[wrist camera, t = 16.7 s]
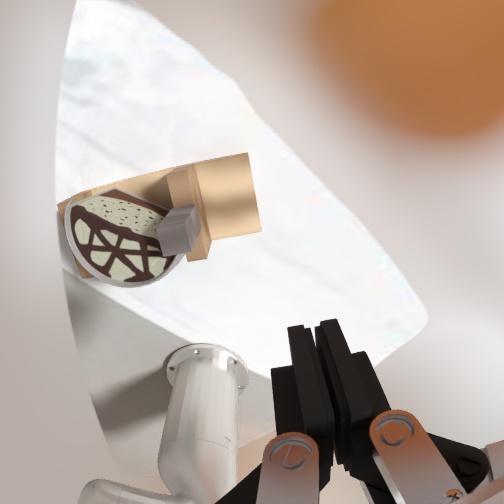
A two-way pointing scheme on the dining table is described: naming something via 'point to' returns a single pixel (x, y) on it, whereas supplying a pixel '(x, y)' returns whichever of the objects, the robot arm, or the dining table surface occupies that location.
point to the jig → (212, 191)
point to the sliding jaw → (185, 217)
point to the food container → (118, 238)
